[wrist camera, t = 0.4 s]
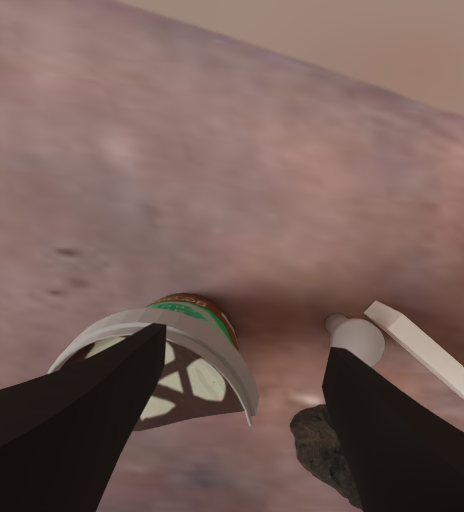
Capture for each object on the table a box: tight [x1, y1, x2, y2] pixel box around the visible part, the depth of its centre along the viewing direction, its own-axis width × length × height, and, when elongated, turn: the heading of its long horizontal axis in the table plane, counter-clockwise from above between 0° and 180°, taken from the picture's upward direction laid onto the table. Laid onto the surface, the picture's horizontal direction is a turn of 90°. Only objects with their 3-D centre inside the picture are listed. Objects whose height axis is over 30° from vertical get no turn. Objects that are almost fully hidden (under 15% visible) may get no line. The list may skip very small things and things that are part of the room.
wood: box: [290, 405, 363, 511], centre depth 21 cm, size 22×7×3 cm, turn 50°
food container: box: [47, 293, 259, 431], centre depth 17 cm, size 12×6×10 cm, turn 101°
